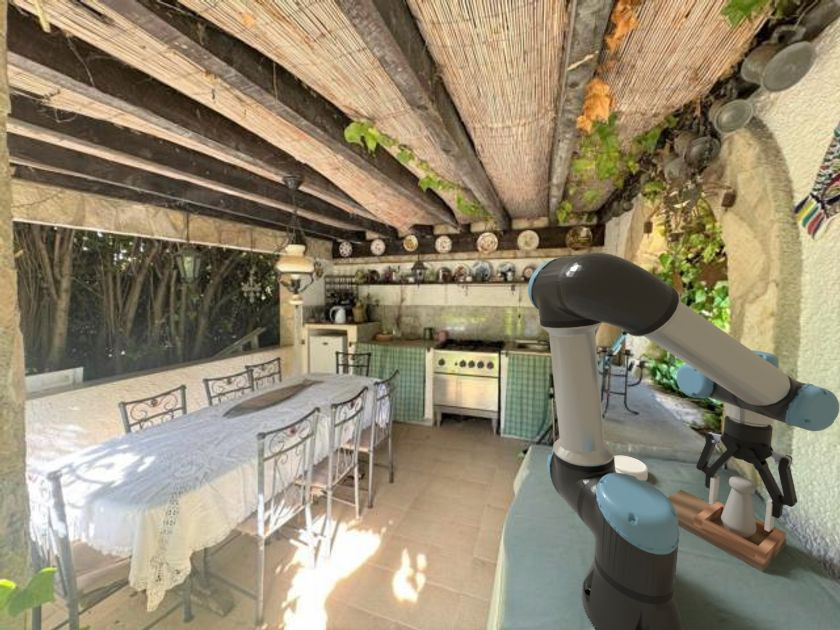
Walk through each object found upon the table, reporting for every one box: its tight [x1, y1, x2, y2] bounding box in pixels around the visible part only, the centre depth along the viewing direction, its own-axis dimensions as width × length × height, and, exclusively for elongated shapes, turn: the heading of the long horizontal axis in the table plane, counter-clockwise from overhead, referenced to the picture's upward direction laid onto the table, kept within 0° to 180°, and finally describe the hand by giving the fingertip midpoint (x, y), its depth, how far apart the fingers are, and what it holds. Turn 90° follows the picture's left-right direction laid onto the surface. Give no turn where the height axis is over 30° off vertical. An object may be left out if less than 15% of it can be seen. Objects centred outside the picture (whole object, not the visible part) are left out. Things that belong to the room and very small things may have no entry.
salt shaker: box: [721, 475, 757, 539], centre depth 74 cm, size 6×6×13 cm
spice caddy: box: [667, 489, 787, 573], centre depth 78 cm, size 14×20×4 cm
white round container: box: [614, 455, 649, 482], centre depth 100 cm, size 10×10×4 cm
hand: (739, 514), depth 74 cm, fingers open, 9 cm apart
